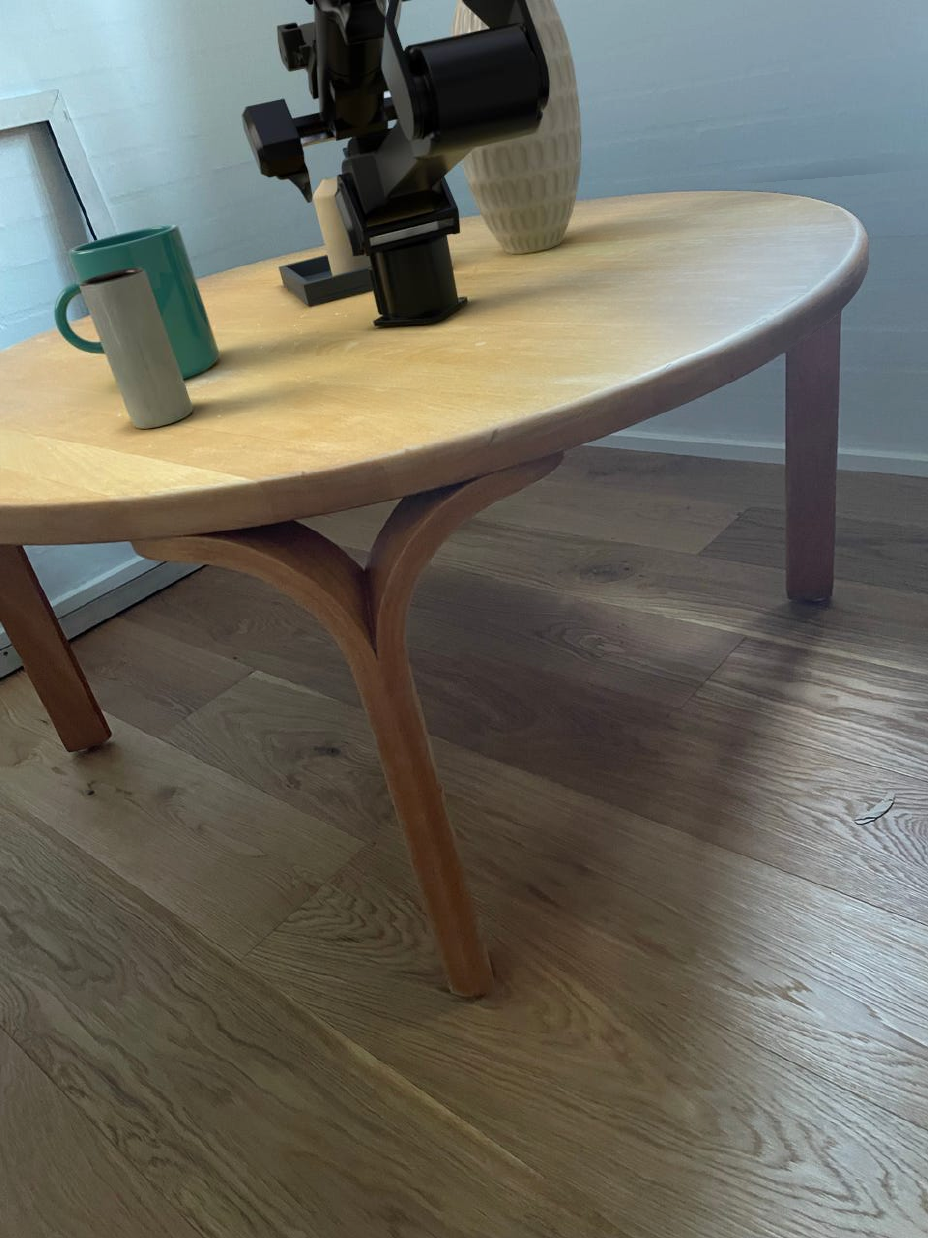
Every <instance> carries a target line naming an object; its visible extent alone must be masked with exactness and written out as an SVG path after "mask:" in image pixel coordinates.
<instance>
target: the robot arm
mask: <svg viewBox="0 0 928 1238" xmlns="http://www.w3.org/2000/svg"><path fill="white" fill-rule="evenodd" d="M304 1H305V2H306V4H308V5H310V6H312V5H313V21H311V22H306V23H302V24H300V25H299V24H298V23H297V22H295V21H293V22H289V23H284V24H280V25H279V24H278V25H277V26H276V30H277V31H276V33H277V44H278V50H279V55H280V56H279V57H280V59H281V62H282V64H283V66H284V67H285V69H286V71H287V72H289V73H290V72H291V73H292V72H296V71H300V70H301V71H302V70H305V71H306V73H307V79H308V80H307V81H308V90H309V93H310V96H311V97H312V99H313V100H318V111H319V112H315V113H310V114H306V115H301V116H296V117H292V114H291V111H290V110H289V107H288V104H287V102H286V99H285V98H281V99H276V100H270V101H265V102H262V103H257V104H252V105H247V106H244V109H243V111H242V113H241V120H242V121H241V122H242V127H243V131H244V134H245V136H246V139H247V141H248V144H249V147H250V150H251V152H252V155H253V157H254V159H255V162H256V164H257V166H258V169H259V172H260V174H261V175H262V176H264V177H267V178H269V179H271V178H276V179H278V180H280V181H285V180H289V181H290V182H291V183H292V184H293V185H294V186H295V187H296V188H297V189H298V190H299V191H300V193H301V194H302V196H303V198H304V199H305V201H306V203H307V204H309V203H312V202H313V196H314V194H313V189H312V184H311V177H310V172H309V169H308V166H307V164H306V160H305V151H304V148H305V147H309V146H313V145H317V144H323V143H326V142H331V141H336V142H339V141H344V140H346V139H349V140H348V141H347V145H346V147H342V152H343V156H344V158H343V159H342V162H341V173H340V174H339V173H338V174H337V175H336V176H337V192H336V194H335V195H334V198H335V201H336V204H337V207H338V210H339V213H340V216H341V219H342V221H343V224H344V227H345V230H346V233H347V236H348V240H349V244H350V248H351V253H352V256H362V255H364V256H366V257H367V256H369V258H370V262H371V266H370V267H369V269H368V271H369V275H370V279H371V284H372V288H373V290H372V293H373V297H374V301H375V307H376V310H377V313H378V315H379V317H378V318H375V319H374V320H373V321H372V322H373V327H391V326H409V325H424V324H426V325H427V324H434V323H438V322H439V321H441V320H443V319H444V318H446V317H447V316H449V315H450V314H452V313H453V312H456V310H458V309H460V308H461V307H463V306H464V305H466V304H468V303H469V300H468V296H459V295H458V290H457V289H458V288H457V283H456V279H455V273H454V267H453V261H452V256H451V251H450V245H449V239H448V236H450V235H453V236H454V235H458V234H461V223H460V211H459V207H458V204H457V202H456V200H455V198H454V196H453V193H452V191H451V189H450V186H449V183H448V182H447V178H446V177H445V176H446V175H447V174H448V173H450V171H452V170H453V169H454V168H455V167H456V166H457V165H458V164H459V163H460V162H461V160H462V159H463V158H464V157H465V156H467V155H468V154H469V153H470V152H471V151H472V150H473V149H474V148H476V147H480V146H484V145H489V144H493V143H497V142H501V141H506V140H510V139H514V138H519V137H523V136H527V135H531V134H534V133H535V132H536V130H537V129H538V127H539V125H540V123H541V120H542V117H543V112H542V110H544V109H545V108H546V106H547V104H548V99H549V92H550V80H549V72H548V66H547V62H546V58H545V55H544V52H543V49H542V46H541V43H540V40H539V38H538V35H537V32H536V29H535V26H534V23H533V20H532V17H531V14H530V12H529V9H528V6H527V3H526V0H462V1H463V3H464V4H465V5H466V6H467V7H468V8H469V9H470V10H471V11H472V12H473V13H474V14H475V15H476V16H477V17H478V18H479V19H480V20H482V21H483V22H484V23H485V24H486V25H487V26H488V27H489V29H484V30H479V31H474V32H470V33H465V34H460V35H455V36H451V37H450V36H445V37H442V38H437V39H432V40H427V41H423V42H419V43H414V44H413V43H412V44H408V45H407V46H405V48H403V45H402V41H401V39H400V36H399V33H398V29H399V24H400V20H401V13H402V6H403V3H405V2H410V1H412V0H304ZM387 2H388V3H387ZM387 4H388V6H387ZM391 121H395V123H394V124H393V126H392V127H389V122H391ZM373 237H374V238H373Z"/></svg>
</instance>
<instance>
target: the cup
mask: <svg viewBox="0 0 928 1238" xmlns="http://www.w3.org/2000/svg"><path fill="white" fill-rule="evenodd" d="M67 255H68V258H69V260H70V263H71V265H72V268H73V270H74V273H75V276H76V280H75V281H74V282H71V283H70V284H69V285H67V286H66V287H65V288H64V289H62V291H61V292H60V293H59V295H58V296H57V298H56V299H55V300H56V301H55V304H54V311H53V315H54V321H55V325H56V328H57V330H58V331H59V333H60V335H61V336H62V337H63V339H64V340H65V341H66V342H67V343H68V344H70V345H71V347H74V348H75V349H77V350H78V351H82V352H85V353H88V354H93V355H106V354H105V352H104V349H103V347H102V344H101V342H100V341H91V340H87V339H85V338H83V337H81V336H80V335H78V334H77V333H76V332H75V331H74V330H73V328H72V327H71V326H70V323H69V320H68V315H67V314H68V309H69V308H68V307H69V305H70V304H71V302H72V300H73V299H74V298H75V297H77V296H79V295H82V292H81V290H80V287H79V284H80V283H81V282H83V281H85V280H87V279H89V278H92V277H95V276H99V275H102V274H106V273H109V272H114V271H118V270H123V269H128V268H137V267H141V268H144V269H145V272H146V274H147V277H148V280H149V283H150V286H151V289H152V292H153V294H154V297H155V300H156V303H157V306H158V309H159V312H160V315H161V317H162V320H163V323H164V326H165V329H166V332H167V335H168V338H169V341H170V343H171V346H172V349H173V352H174V355H175V358H176V361H177V364H178V366H179V369H180V372H181V375H182V378H183V380H186V379H188V378H192V377H193V376H196V375H199V374H200V373H203V372H204V371H206V370H208V369H210V368H211V367H212V366H213V365H215V364H216V362H217V361H218V359H219V357H220V352H219V347H218V344H217V342H216V338H215V335H214V331H213V329H212V325H211V323H210V320H209V317H208V314H207V310H206V307H205V304H204V301H203V298H202V294H201V292H200V289H199V286H198V282H197V279H196V277H195V273H194V270H193V267H192V264H191V261H190V258H189V254H188V252H187V249H186V245H185V242H184V239H183V237H182V233H181V230H180V227H179V226H178V225H177V224H164V225H157V226H150V227H146V228H140V229H135V230H131V231H126V232H122V233H119V234H113V235H110V236H107V237H103V238H100V239H95V240H92V241H90V242H86V243H83V244H80V245H78V246H75V247H73V248H70V250H68V252H67Z"/></svg>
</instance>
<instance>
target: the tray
mask: <svg viewBox="0 0 928 1238" xmlns="http://www.w3.org/2000/svg"><path fill="white" fill-rule="evenodd" d="M369 267H370V266H369ZM369 267H365V268H361V269H358V270H354V271H350V272H346V273H342V274H338V275H334V276H333V275H332V272H331V268H330V264H329V260H328V256H327V254H324V255H319V256H315V257H312V258H307V259H304V260H301V261H300V260H299V261H296V262H293V263H292V262H291V263H288V264H284V265H281V266H278V270H279V274H280V278H281V281H282V285H283V287H284V288H286V290H288V291H289V292H290V293H291V294H293V295H294V296H295V297H297V298H298V299H299V300H300V301H302V303H304V304H305V305H306V306H308V307H309V308H310V307H314V306H317V305H320V304H324V303H328V302H332V301H336V300H340V299H343V298H347V297H351V296H354V295H358V294H362V293H366V292H369V291H373V288H372V284H371V279H370V275H369V271H368V269H369Z"/></svg>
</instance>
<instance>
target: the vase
mask: <svg viewBox="0 0 928 1238" xmlns="http://www.w3.org/2000/svg"><path fill="white" fill-rule="evenodd" d="M526 3H527V6H528V9H529V12H530V14H531V17H532V20H533V23H534V26H535V29H536V32H537V35H538V38H539V40H540V43H541V46H542V49H543V52H544V55H545V58H546V62H547V66H548V72H549V80H550V92H549V99H548V104H547V106H546V108H545V109H544V110H542V112H543V117H542V120H541V123H540V125H539V127H538V129H537V130H536V132H535V133H534V134H531V135H527V136H523V137H519V138H514V139H510V140H506V141H501V142H497V143H493V144H489V145H484V146H480V147H476V148H474V149H473V150H472V151H471V152H470V153H469V154H468V155H467V156H465V157H464V158H463V159H462V160H461V161H460V162H461V166H462V169H463V172H464V173H463V174H464V176H465V179H466V182H467V186H468V189H469V191H470V193H471V196H472V199H473V201H474V203H475V205H476V207H477V210H478V212H479V213H480V216H481V217H482V219H483V221H484V223H485V224H486V227H487V228H488V230H489V231H490V233H491V234H492V235H493V236H494V238H495V239H496V241H497V242H498V244H499V245H500V246H501V247H502V249H503V250H504V251H505V252H506V253H507V254H509V255H524V254H532V253H536V252H542V251H546V250H549V249H552V248H555V247H557V246H559V245H560V244H562V242H563V240H564V237H565V235H566V233H567V232H566V231H567V229H568V226H569V223H570V221H571V218H572V215H573V213H574V208H575V204H576V199H577V195H578V188H579V182H580V173H581V167H582V166H581V165H582V125H581V121H582V120H581V110H580V100H579V90H578V83H577V76H576V69H575V63H574V59H573V55H572V52H571V47H570V42H569V40H568V36H567V33H566V30H565V27H564V24H563V21H562V18H561V16H560V13H559V11H558V9H557V6H556V4H555V1H554V0H526ZM451 21H452V22H451V27H450V36H449V37H451V36H455V35H460V34H465V33H470V32H474V31H479V30H484V29H489V27H488V26H487V25H486V24H485V23H484V22H483V21H482V20H480V19H479V18H478V17H477V16H476V15H475V14H474V13H473V12H472V11H471V10H470V9H469V8H468V7H467V6H466V5H465V4H464V3H463V1H462V0H456V4H455V7H454V12H453V17H452V20H451Z"/></svg>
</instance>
